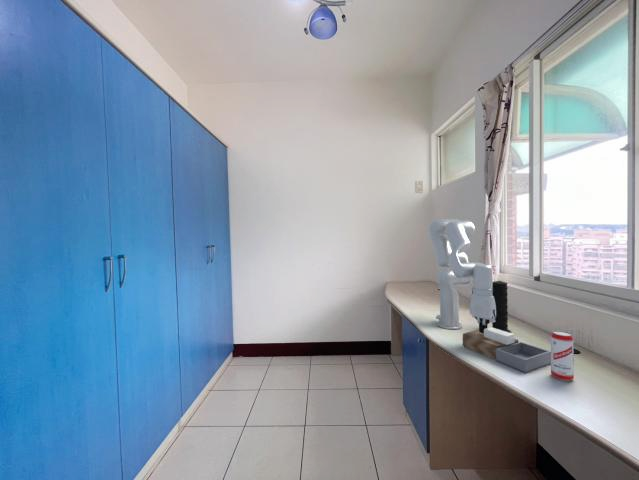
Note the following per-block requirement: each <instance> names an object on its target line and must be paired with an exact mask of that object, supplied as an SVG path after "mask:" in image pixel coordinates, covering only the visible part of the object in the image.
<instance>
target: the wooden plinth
mask: <svg viewBox="0 0 639 480" xmlns="http://www.w3.org/2000/svg"><path fill="white" fill-rule="evenodd" d="M514 342H515V343H518V342H519V339H517V338H514ZM515 343H511V344H508V345H512V344H515ZM508 345H506V344H503V343H500V342H497V341H494V340H492V339H489V338H486V337H484V333H480V332H479V329H476V330H473V331H467V332H463V333H462V347H463V346H464V347H463V348H465V347H466V349H468V350H470V349H471V350H470V351H473V350H474V351H473V352H475V351H476V352H475V353H479V354H481V355H482V356H485V357H488V358H490V359H493V360H495V361H496V349H498V348H501V347H505V346H508Z"/></svg>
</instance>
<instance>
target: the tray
mask: <svg viewBox="0 0 639 480" xmlns="http://www.w3.org/2000/svg"><path fill="white" fill-rule="evenodd" d="M495 361H496V362H497V363H500V365H501V364H502V365H504V366H506V367H509V368H512V369H514V370H517V371H519V372H522V373H524V374H528V373H531V372H534V371H537V370H539V369H541V368H545V367H547V366H549V365H550V366H551V350H548V349H545V348H541V347H538V346H535V345H532V344H528V343H525V342H522V341H518V343H515V344H512V345H508V346H505V347H501V348H498V349H496V360H495Z"/></svg>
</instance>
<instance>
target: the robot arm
mask: <svg viewBox="0 0 639 480" xmlns="http://www.w3.org/2000/svg"><path fill="white" fill-rule="evenodd" d="M428 231H429V236H430V238H431V240H432V242H433V243H432V244H433V245H434V251H435V257H436V260H437V264H438V265H439V267H441V268H445V269H442V270H440V271H439V272H438V273H437V282H438V287H439V314H437V315H436V316H435V319H437V320H438V321H437V324H436V325H437V326H438V327H440V328H443V329H446V330H459V329H462V328H463V324H462V323H461V322H460V311H459V310H460V307H459V305H460V304H459V302H460V301H459V299H460V297H459V293H458V291H457V290H456V288H455V287H469V286H470V285H471V284H472V283H473V284H472V286H473V287H471V291H472V292H473V293H471V295H470V296H471V297H470V300H469V314H470V315H471V317H472V318H473V319H475V321H477V323H478V330H479V332H480V333H484V329H486V328H488V325H489V324H490V323H491V324H492V323H493V322H495V318H496V305H495V299H494V296H493V289H492V285H493V284H492V282H493V266H491V265H489V264H485V263H482V262H470V261H469V256H468V255H467V254H466V251H467V250H469V249H470V248H471V245H472V244H471V241H470V239H469V238H468V237H472V236H474V234H475V232H476V227H475V225H474V223H473V222H472V221H470V220H467V219H466V220H465V219H460V218H458V219H457V218H455V219H454V218H453V219H452V218H450V219H449V218H448V219H442V218H441V219H435V220H433V221H431V223H430V224H429V230H428ZM445 235H446V236H447V237H446V236H445ZM448 268H449V269H448Z"/></svg>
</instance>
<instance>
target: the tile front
mask: <svg viewBox="0 0 639 480" xmlns="http://www.w3.org/2000/svg"><path fill="white" fill-rule="evenodd" d="M514 339H515V333H509V332H505V331H499V332H495V341H497V342H500V343H503V344H506V345H508V344H511V343H515V342H514Z"/></svg>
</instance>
